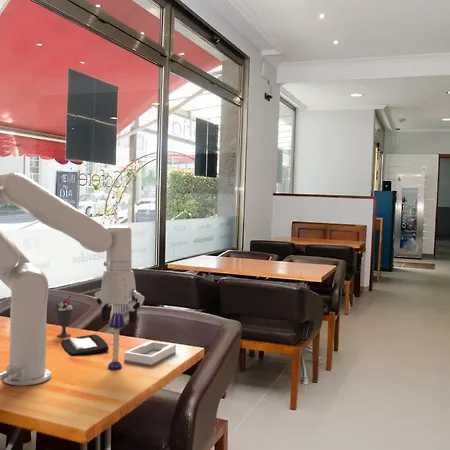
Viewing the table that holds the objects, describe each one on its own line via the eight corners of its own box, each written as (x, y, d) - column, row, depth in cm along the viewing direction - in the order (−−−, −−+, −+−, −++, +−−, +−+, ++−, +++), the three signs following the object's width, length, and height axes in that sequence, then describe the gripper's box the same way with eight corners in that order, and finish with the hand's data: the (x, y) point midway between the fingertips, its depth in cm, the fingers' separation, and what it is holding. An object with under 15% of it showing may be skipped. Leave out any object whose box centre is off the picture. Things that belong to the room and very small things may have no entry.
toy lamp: (111, 364, 162) (112, 311, 161) (125, 365, 161) (127, 312, 161) (105, 369, 157) (107, 314, 157) (120, 370, 157) (121, 315, 156)
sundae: (77, 335, 195) (77, 295, 195) (62, 339, 189) (63, 298, 189) (65, 332, 199) (65, 293, 198) (50, 336, 193) (51, 296, 192)
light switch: (58, 337, 186) (97, 330, 192) (59, 345, 186) (97, 338, 192) (68, 352, 168) (111, 344, 175) (69, 360, 168) (112, 352, 175)
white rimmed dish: (151, 366, 161) (151, 356, 161) (124, 361, 165) (124, 352, 165) (175, 353, 176) (175, 344, 176) (149, 349, 180) (150, 340, 180)
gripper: (87, 266, 158) (88, 321, 159) (136, 269, 151) (136, 327, 152) (102, 263, 165) (102, 316, 166) (150, 266, 158) (150, 322, 159)
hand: (119, 321), depth 159 cm, fingers open, 9 cm apart
